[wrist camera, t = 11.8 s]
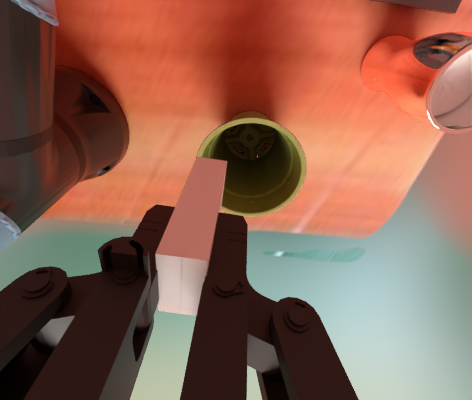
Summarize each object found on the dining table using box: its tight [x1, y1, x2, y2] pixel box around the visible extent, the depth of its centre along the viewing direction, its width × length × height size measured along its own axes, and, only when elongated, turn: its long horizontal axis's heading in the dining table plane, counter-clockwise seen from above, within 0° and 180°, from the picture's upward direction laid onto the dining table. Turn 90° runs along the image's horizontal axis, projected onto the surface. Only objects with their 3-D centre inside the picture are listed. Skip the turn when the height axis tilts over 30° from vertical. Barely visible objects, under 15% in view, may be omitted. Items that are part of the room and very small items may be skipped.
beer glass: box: [361, 32, 472, 133], centre depth 25 cm, size 7×7×15 cm
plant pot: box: [196, 111, 306, 217], centre depth 32 cm, size 12×12×11 cm
